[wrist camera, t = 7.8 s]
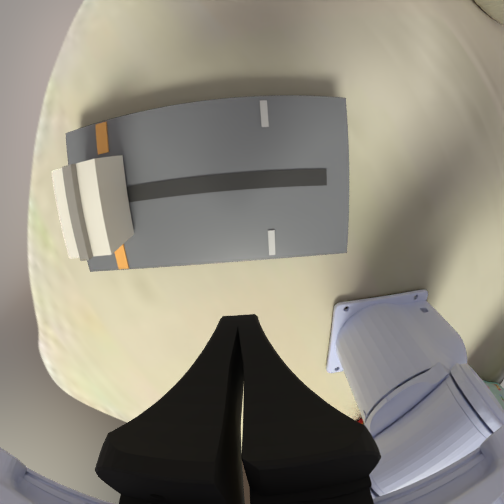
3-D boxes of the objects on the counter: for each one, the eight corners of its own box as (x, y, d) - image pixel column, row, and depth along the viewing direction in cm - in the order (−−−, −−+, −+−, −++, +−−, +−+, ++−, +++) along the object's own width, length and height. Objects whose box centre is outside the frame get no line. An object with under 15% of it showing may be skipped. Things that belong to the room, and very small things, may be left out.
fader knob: (122, 155, 14) (89, 159, 10) (134, 233, 16) (107, 258, 12) (83, 164, 14) (45, 172, 10) (95, 238, 16) (64, 262, 12)
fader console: (335, 102, 16) (346, 97, 14) (337, 242, 19) (347, 253, 17) (80, 133, 15) (64, 133, 13) (101, 260, 19) (89, 272, 17)
